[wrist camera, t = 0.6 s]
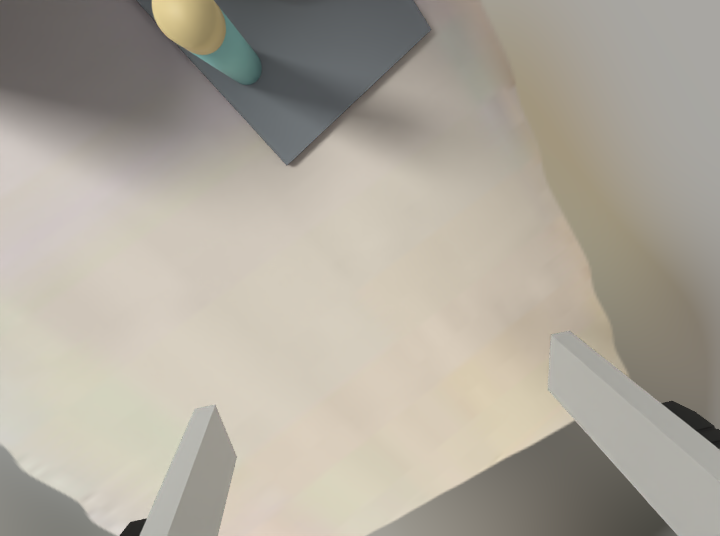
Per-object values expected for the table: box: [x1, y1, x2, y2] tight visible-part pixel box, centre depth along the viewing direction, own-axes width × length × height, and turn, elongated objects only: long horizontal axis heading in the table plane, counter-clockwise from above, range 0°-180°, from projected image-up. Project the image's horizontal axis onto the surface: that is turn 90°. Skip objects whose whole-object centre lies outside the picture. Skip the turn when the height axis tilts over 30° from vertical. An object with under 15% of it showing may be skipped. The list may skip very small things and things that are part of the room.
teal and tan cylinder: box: [152, 0, 262, 85], centre depth 23 cm, size 3×3×14 cm
